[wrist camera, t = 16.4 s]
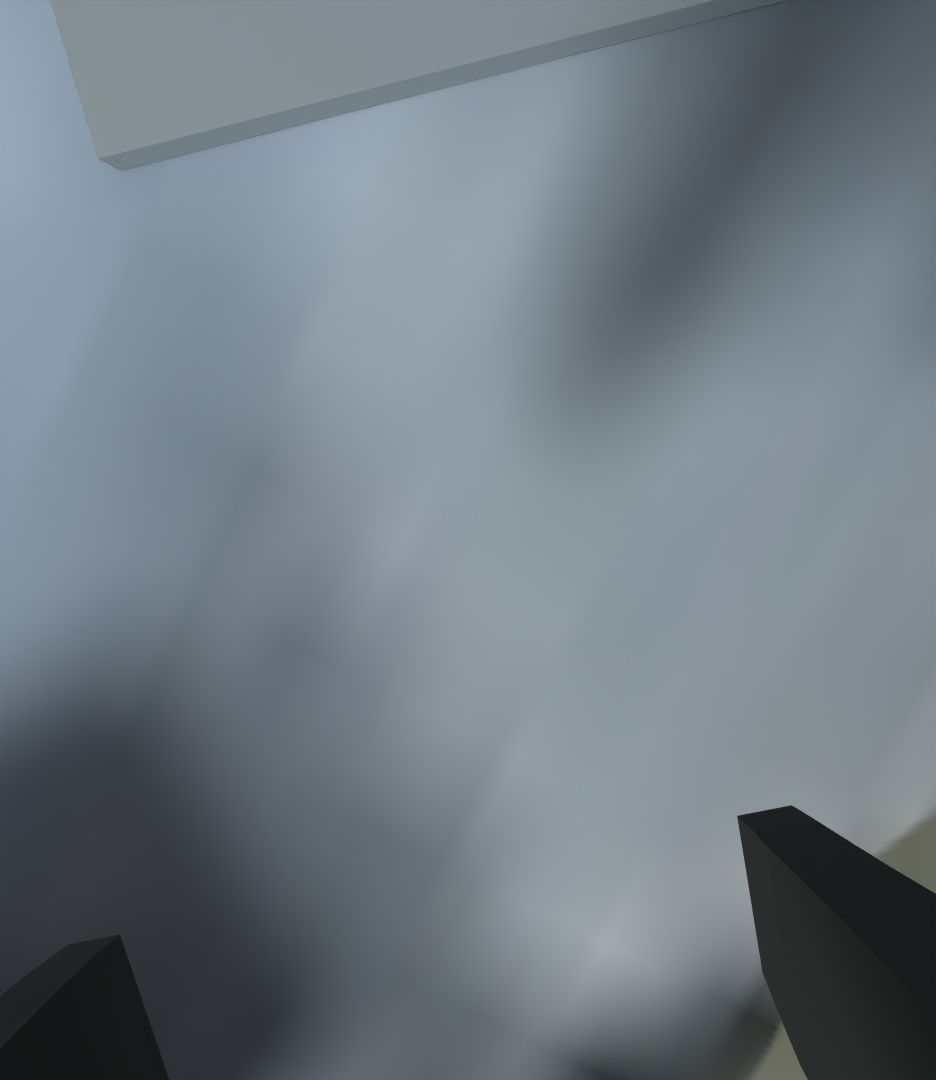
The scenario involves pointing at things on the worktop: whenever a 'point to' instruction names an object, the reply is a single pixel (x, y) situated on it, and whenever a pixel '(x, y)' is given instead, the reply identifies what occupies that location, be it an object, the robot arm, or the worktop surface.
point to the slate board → (314, 58)
